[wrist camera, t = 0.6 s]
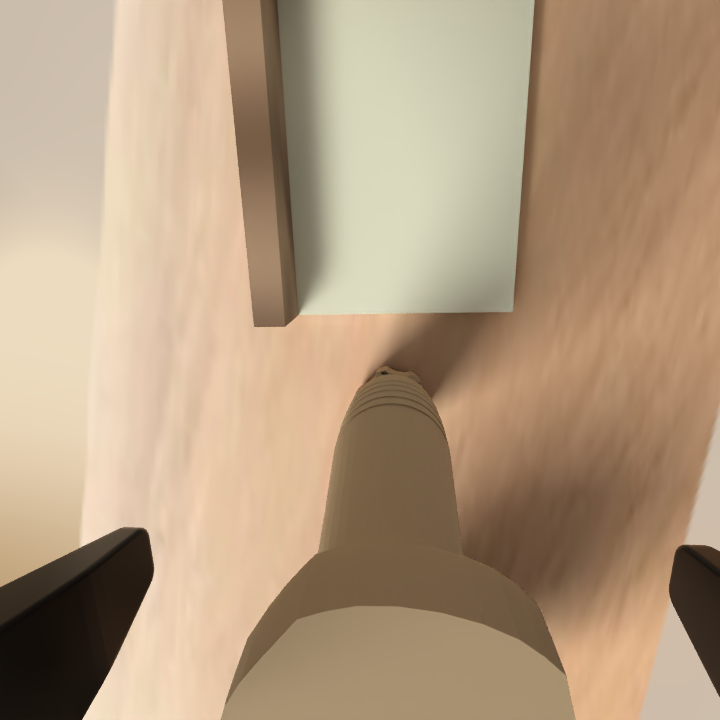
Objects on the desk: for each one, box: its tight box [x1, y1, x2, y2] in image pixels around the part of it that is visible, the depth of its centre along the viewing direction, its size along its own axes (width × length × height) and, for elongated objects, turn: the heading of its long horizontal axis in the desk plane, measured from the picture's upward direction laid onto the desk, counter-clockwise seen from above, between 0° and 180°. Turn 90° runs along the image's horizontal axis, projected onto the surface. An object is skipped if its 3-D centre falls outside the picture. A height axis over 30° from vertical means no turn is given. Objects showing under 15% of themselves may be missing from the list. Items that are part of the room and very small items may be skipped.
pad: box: [277, 0, 535, 315], centre depth 17 cm, size 12×9×1 cm
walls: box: [222, 0, 298, 327], centre depth 16 cm, size 13×11×3 cm
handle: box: [221, 366, 575, 720], centre depth 13 cm, size 5×6×15 cm
